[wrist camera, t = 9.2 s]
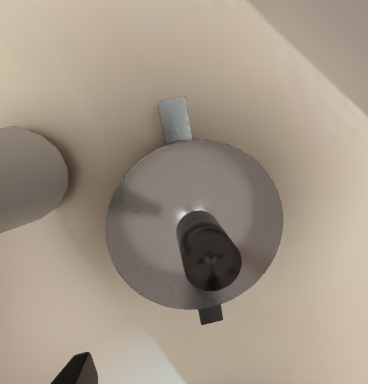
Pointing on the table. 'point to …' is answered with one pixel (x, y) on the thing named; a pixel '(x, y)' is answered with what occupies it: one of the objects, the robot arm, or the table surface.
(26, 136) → the salt shaker
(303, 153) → the table surface
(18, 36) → the table surface
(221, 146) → the lid
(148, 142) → the table surface
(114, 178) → the table surface
